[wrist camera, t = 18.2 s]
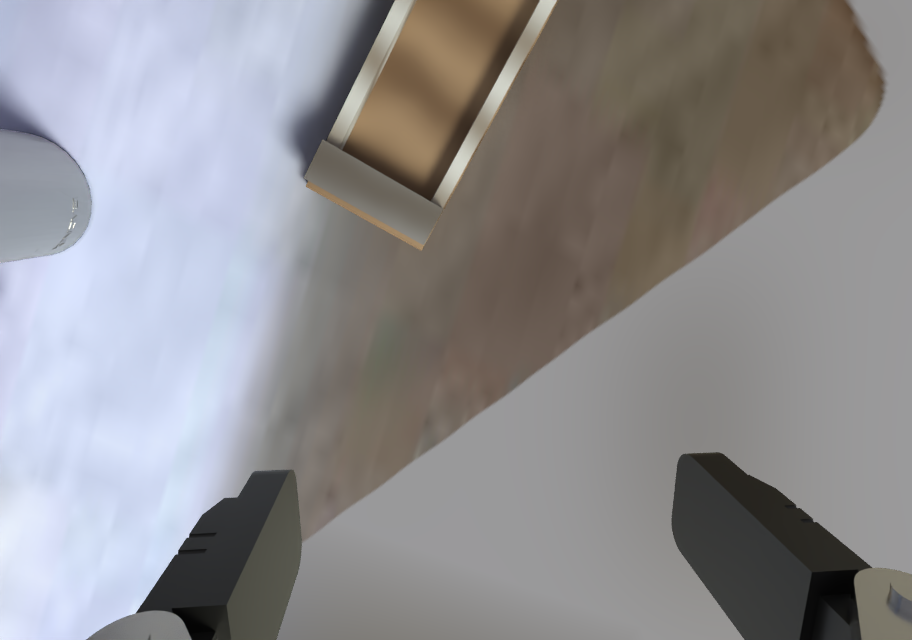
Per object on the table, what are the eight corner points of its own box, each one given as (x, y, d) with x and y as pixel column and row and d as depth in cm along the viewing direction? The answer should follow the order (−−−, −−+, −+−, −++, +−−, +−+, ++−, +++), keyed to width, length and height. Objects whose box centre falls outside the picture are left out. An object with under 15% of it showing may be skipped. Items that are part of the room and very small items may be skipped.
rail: (421, 248, 42) (421, 255, 38) (309, 186, 40) (296, 185, 36) (636, -144, 37) (665, -190, 32) (517, -236, 35) (531, -297, 31)
